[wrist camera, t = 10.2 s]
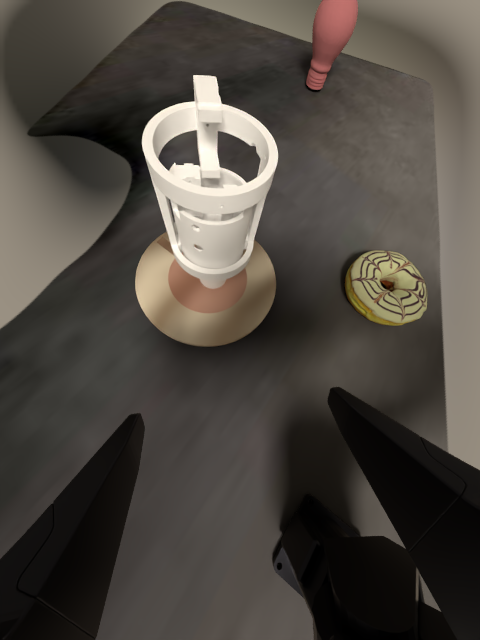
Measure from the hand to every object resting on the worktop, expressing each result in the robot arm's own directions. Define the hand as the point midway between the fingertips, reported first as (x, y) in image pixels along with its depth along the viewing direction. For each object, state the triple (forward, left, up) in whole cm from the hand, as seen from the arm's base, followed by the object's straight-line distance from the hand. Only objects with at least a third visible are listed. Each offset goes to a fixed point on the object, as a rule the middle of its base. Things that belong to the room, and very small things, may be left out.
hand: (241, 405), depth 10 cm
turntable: (+10, -9, -12) cm, 18 cm away
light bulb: (+24, -59, -14) cm, 65 cm away
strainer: (+10, -9, -11) cm, 17 cm away
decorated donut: (-8, -24, -14) cm, 29 cm away
